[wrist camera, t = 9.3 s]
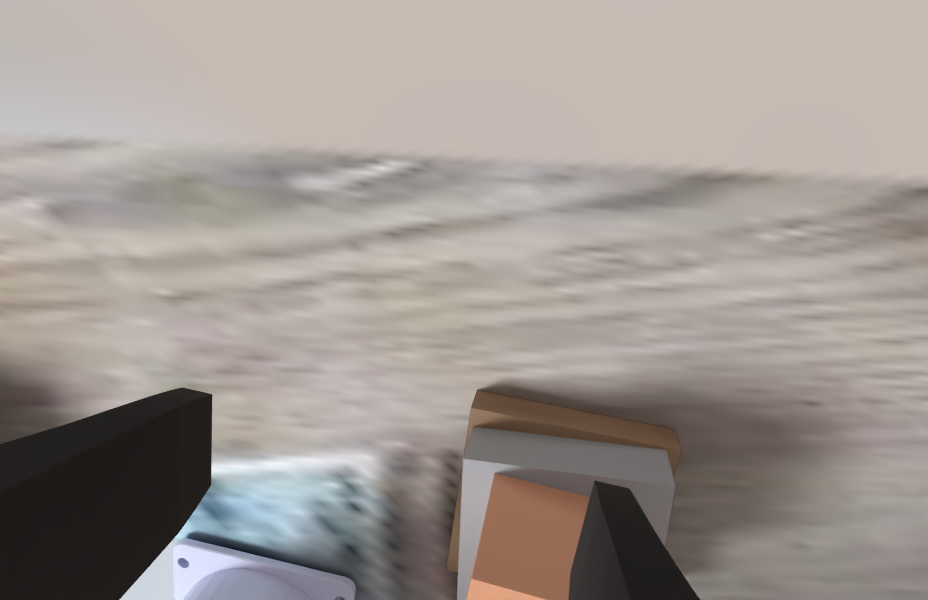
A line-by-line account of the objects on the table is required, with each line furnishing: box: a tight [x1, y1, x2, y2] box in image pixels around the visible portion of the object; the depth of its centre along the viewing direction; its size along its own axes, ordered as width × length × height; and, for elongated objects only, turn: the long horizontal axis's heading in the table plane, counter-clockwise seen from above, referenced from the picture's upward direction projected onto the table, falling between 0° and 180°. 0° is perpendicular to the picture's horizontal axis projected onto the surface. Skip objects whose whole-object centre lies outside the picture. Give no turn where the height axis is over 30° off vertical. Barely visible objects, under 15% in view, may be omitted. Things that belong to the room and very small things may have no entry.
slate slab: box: [457, 427, 676, 600], centre depth 21 cm, size 6×6×2 cm
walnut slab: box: [446, 390, 681, 573], centre depth 23 cm, size 7×7×2 cm
